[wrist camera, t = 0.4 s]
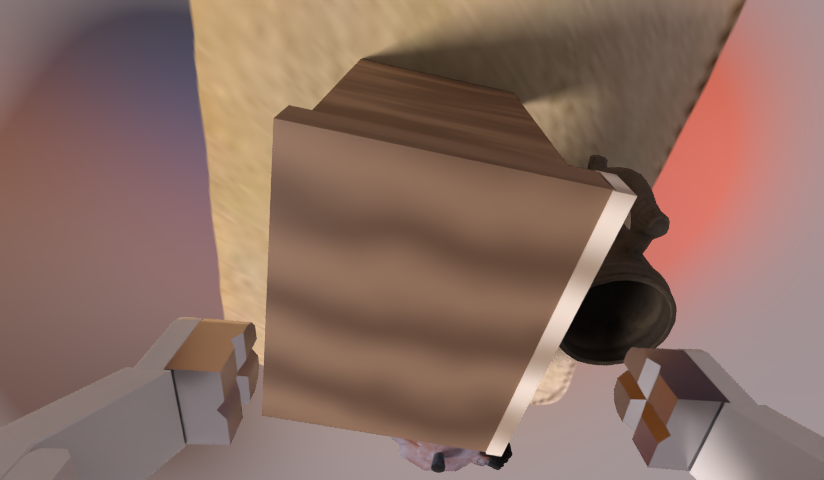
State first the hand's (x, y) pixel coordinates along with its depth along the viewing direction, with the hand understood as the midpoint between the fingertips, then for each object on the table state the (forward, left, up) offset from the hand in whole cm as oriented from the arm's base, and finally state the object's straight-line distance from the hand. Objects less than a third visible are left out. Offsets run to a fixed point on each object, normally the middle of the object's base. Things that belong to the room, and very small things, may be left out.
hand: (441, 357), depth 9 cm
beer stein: (+11, +18, -40) cm, 45 cm away
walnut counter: (+11, +1, -40) cm, 41 cm away
